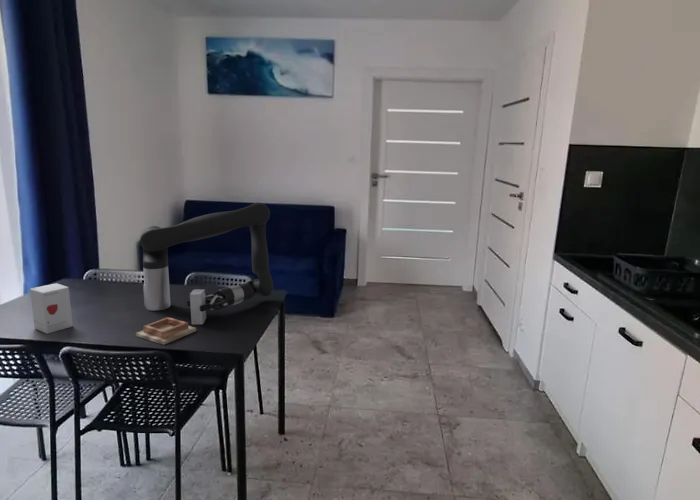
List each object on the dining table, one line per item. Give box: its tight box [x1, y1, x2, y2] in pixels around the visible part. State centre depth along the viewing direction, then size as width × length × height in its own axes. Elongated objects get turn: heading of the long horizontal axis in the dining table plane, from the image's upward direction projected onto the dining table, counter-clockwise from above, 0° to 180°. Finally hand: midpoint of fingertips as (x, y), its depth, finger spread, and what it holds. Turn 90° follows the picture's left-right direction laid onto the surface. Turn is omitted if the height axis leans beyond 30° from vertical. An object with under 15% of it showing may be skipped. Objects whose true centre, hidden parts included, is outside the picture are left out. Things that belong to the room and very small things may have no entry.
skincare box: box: [189, 288, 207, 326], centre depth 170 cm, size 6×4×12 cm
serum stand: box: [135, 316, 197, 345], centre depth 159 cm, size 14×14×3 cm
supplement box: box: [29, 282, 73, 334], centre depth 161 cm, size 9×9×15 cm
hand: (193, 306), depth 168 cm, fingers open, 8 cm apart
